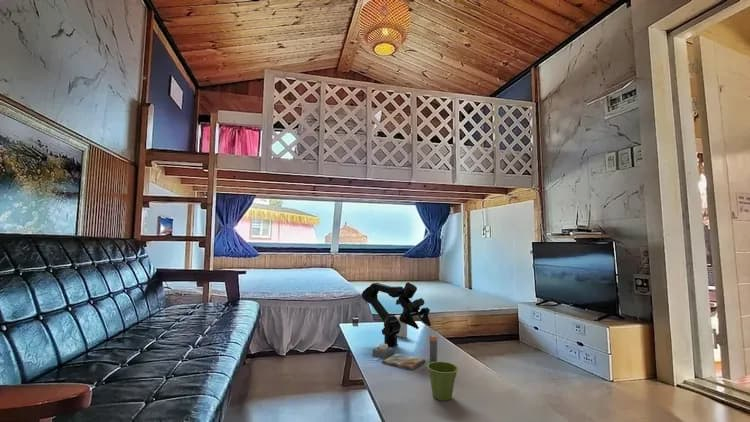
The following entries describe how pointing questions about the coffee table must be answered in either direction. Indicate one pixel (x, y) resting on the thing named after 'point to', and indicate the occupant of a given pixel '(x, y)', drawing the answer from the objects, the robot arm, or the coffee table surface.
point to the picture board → (403, 361)
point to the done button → (383, 347)
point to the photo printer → (402, 329)
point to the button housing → (383, 352)
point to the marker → (433, 348)
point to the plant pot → (442, 379)
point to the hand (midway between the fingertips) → (424, 327)
